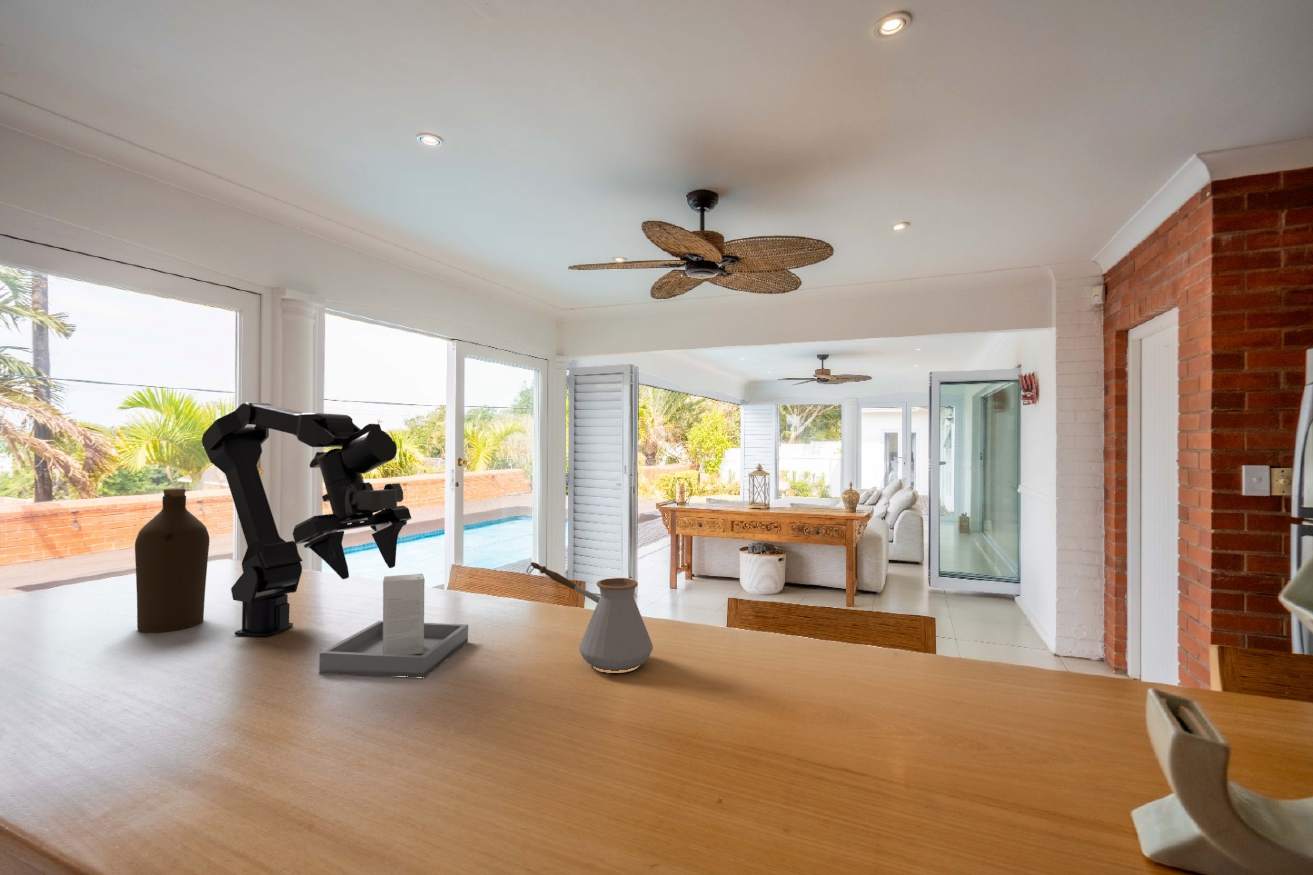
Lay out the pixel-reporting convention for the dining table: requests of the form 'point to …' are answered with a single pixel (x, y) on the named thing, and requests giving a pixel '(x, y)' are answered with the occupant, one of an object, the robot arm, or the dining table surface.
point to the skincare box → (403, 614)
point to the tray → (368, 658)
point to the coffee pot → (611, 624)
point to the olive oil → (171, 567)
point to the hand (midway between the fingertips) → (370, 572)
